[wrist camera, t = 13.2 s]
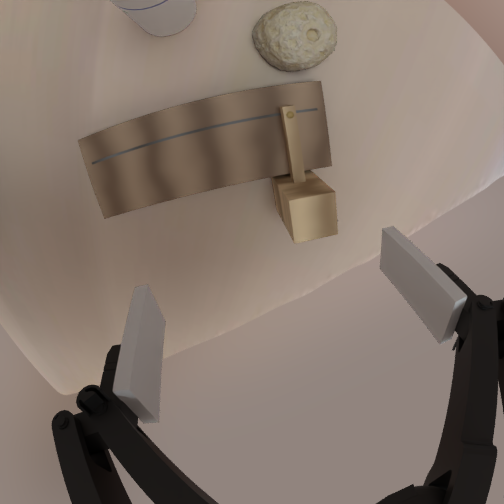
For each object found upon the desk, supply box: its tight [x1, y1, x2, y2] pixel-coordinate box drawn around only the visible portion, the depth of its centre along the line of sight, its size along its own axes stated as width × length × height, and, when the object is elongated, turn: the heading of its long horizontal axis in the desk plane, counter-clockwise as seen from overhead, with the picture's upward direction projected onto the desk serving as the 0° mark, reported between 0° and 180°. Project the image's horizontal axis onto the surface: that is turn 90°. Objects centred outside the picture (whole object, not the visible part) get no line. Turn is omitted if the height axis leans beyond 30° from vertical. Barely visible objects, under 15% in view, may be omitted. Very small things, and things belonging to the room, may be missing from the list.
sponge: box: [252, 1, 337, 72], centre depth 26 cm, size 9×10×10 cm
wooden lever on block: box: [271, 105, 338, 244], centre depth 33 cm, size 5×14×10 cm, turn 11°
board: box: [78, 81, 332, 219], centre depth 34 cm, size 30×11×3 cm, turn 101°
